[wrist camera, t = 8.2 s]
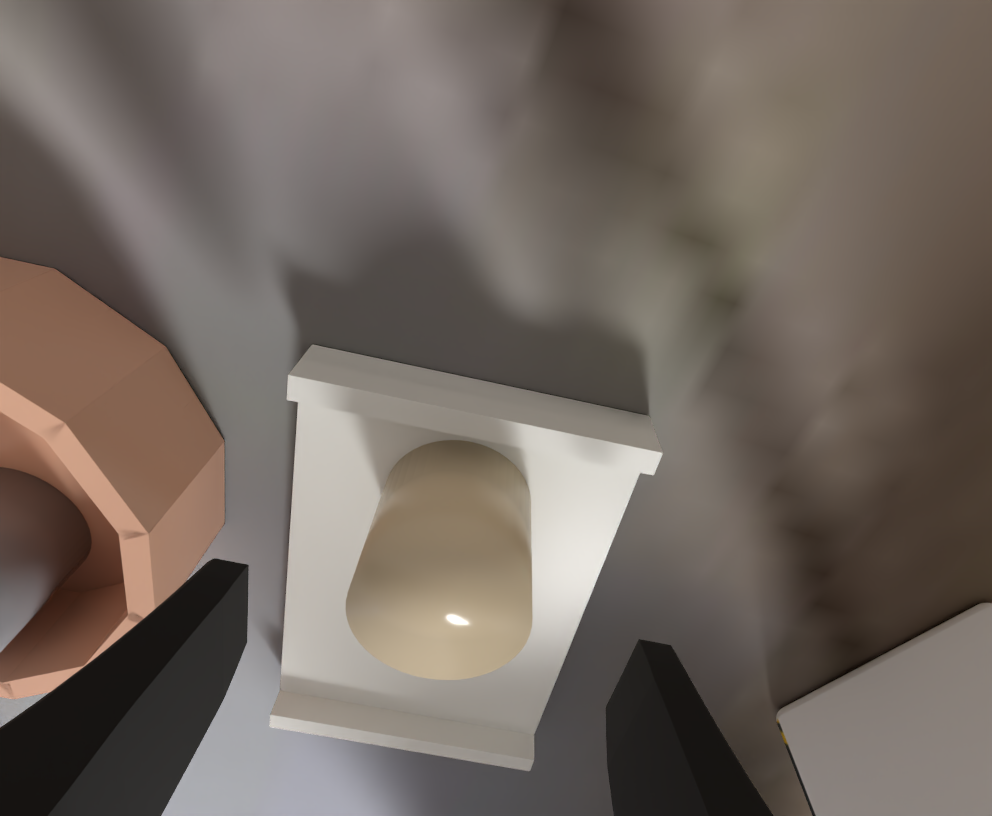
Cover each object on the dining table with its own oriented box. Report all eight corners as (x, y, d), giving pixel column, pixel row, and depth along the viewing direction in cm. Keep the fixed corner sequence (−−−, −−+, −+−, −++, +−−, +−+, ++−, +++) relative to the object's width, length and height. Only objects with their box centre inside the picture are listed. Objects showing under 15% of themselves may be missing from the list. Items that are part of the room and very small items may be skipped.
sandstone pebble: (512, 569, 16) (509, 693, 13) (375, 543, 16) (337, 662, 12) (547, 457, 14) (553, 568, 11) (394, 425, 14) (355, 529, 11)
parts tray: (529, 722, 20) (529, 771, 19) (287, 680, 20) (269, 726, 18) (649, 415, 14) (663, 453, 13) (312, 344, 14) (288, 374, 12)
